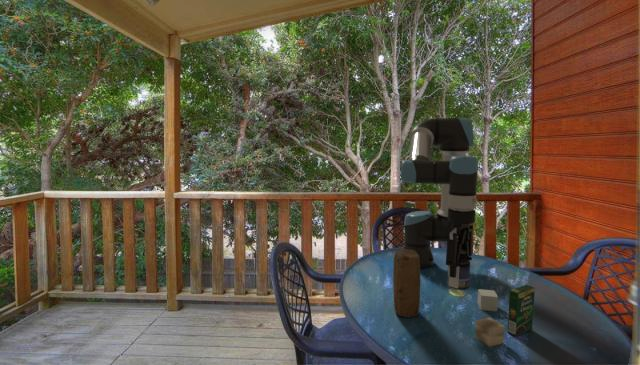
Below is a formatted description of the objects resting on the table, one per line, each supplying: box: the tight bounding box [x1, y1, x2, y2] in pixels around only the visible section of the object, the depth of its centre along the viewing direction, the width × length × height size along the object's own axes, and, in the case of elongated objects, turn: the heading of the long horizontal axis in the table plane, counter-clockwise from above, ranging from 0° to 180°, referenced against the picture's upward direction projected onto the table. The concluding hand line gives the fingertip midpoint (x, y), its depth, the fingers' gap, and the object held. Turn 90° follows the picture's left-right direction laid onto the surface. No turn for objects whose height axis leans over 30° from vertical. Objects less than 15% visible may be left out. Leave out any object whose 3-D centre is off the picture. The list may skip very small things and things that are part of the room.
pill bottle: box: [447, 249, 471, 291], centre depth 103 cm, size 6×6×11 cm
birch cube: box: [474, 317, 505, 348], centre depth 95 cm, size 5×5×5 cm
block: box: [392, 248, 421, 318], centre depth 111 cm, size 11×8×20 cm
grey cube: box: [477, 288, 499, 312], centre depth 114 cm, size 5×5×5 cm
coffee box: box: [507, 284, 536, 338], centre depth 99 cm, size 8×3×13 cm, turn 118°
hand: (458, 283), depth 104 cm, fingers closed on pill bottle, 6 cm apart
